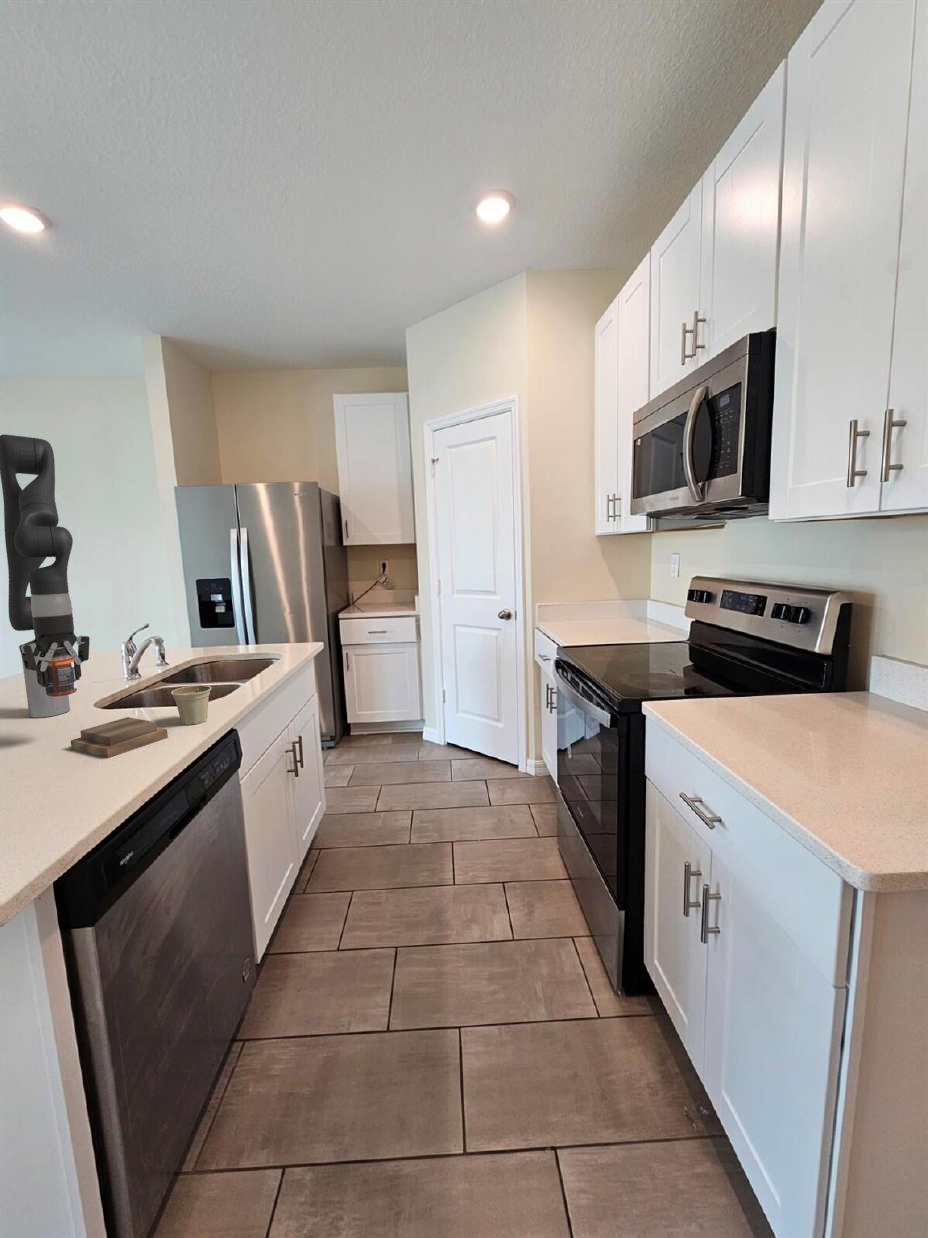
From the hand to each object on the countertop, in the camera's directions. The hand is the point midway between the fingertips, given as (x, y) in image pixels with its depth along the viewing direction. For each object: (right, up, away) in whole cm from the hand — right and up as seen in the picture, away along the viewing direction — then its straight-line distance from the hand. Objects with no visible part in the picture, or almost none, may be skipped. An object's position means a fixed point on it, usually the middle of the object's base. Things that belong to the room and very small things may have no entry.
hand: (60, 682), depth 128 cm
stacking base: (+15, -14, -1) cm, 20 cm away
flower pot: (+25, -12, +14) cm, 31 cm away
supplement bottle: (0, -3, 0) cm, 3 cm away
